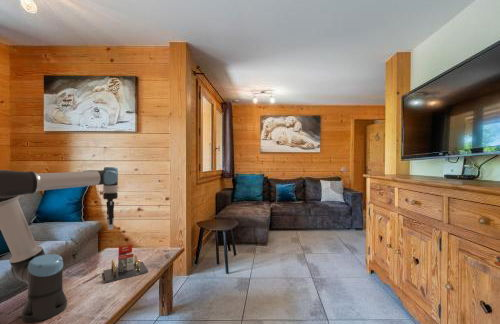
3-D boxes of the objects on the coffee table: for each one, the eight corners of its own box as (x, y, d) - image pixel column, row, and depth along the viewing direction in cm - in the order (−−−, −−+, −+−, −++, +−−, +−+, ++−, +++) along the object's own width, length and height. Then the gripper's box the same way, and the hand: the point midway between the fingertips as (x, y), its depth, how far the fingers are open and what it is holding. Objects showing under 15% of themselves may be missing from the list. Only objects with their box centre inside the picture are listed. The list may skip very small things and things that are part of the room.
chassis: (105, 282, 130) (105, 269, 130) (103, 272, 143) (103, 260, 143) (148, 272, 143) (148, 260, 143) (142, 263, 156) (142, 252, 156)
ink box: (133, 269, 144) (133, 245, 144) (118, 273, 139) (119, 248, 139) (132, 267, 146) (132, 244, 147) (117, 271, 142) (118, 246, 142)
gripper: (119, 193, 135) (118, 231, 135) (115, 190, 156) (115, 222, 155) (104, 194, 131) (103, 233, 130) (102, 191, 152) (101, 224, 151)
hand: (109, 227), depth 143 cm, fingers open, 13 cm apart
